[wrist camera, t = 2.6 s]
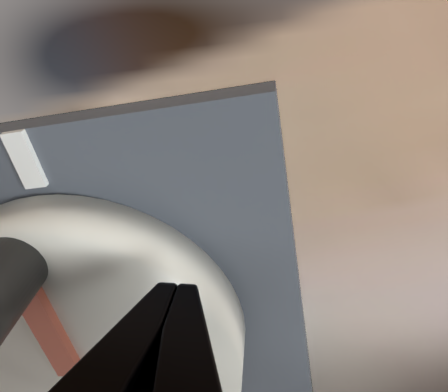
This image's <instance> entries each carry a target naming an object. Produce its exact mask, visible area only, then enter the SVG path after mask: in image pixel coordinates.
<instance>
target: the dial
mask: <svg viewBox="0 0 448 392" xmlns="http://www.w3.org/2000/svg"><path fill="white" fill-rule="evenodd" d="M159 282H167V283H176V284H177V285H179V284H181V283H183V284H195V285H197V287H198V291H199V295H200V299H201V303H202V307H203V312H204V316H205V320H206V324H207V328H208V333H209V337H210V341H211V345H212V349H213V354H214V358H215V362H216V366H217V370H218V375H219V379H220V383H221V387H222V392H241V389H242V374H243V359H244V344H245V322H244V314H243V311H242V308H241V305H240V301H239V299H238V297H237V295H236V293H235V291H234V289H233V287H232V285H231V283H230V282H229V280H228V279H227V277H226V276H225V274H224V273H223V271H222V270H221V269H220V267H219V266H218V265H217V264H216V263H215V262H214V261H213V260H212V259H211V258H210V256H209V255H208V254H207V253H206V252H204V251H203V250H202V249H201V248H200V247H199V246H197V245H196V244H195V243H194V242H193V241H192V240H190V239H189V238H187V237H186V236H185V235H183V234H182V233H180V232H179V231H177V230H176V229H174V228H173V227H171V226H169V225H167V224H166V223H164V222H162V221H160V220H158V219H156V218H154V217H152V216H150V215H148V214H145V213H143V212H141V211H138V210H136V209H133V208H131V207H128V206H125V205H121V204H118V203H114V202H111V201H107V200H103V199H97V198H92V197H86V196H78V195H62V194H55V195H37V196H31V197H26V198H20V199H16V200H13V201H10V202H7V203H4V204H1V205H0V392H48V391H49V390H50V389H51V388H52V387H53V386H54V385H55V384H56V383H57V382H58V381H59V380H60V379H61V378H62V377H63V376H64V375H65V374H66V373H67V372H68V371H69V370H70V369H71V368H72V367H73V366H74V365H75V364H76V363H77V362H78V361H79V360H80V359H81V358H82V357H83V356H84V355H85V354H86V353H87V352H88V351H89V350H90V349H91V348H92V347H93V346H94V345H95V344H96V343H97V342H99V341H100V340H101V339H102V338H103V337H104V336H105V335H106V334H107V333H108V332H109V331H110V330H111V329H112V328H113V327H114V326H115V325H116V324H117V323H118V322H119V321H120V320H121V319H122V318H123V317H124V316H125V315H126V314H127V313H128V312H129V311H130V310H131V309H132V308H133V307H134V306H135V305H136V304H137V303H138V302H139V301H140V300H141V299H142V298H143V297H144V296H145V295H146V294H147V293H148V292H149V291H150V290H151V289H152V288H153V287H154V286H155V285H156V284H157V283H159Z"/></svg>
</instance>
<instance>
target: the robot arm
mask: <svg viewBox="0 0 448 392" xmlns="http://www.w3.org/2000/svg"><path fill="white" fill-rule="evenodd" d="M48 392H222V387H221V383H220V379H219V375H218V370H217V366H216V362H215V358H214V354H213V349H212V345H211V341H210V337H209V333H208V328H207V324H206V320H205V316H204V312H203V307H202V303H201V299H200V295H199V291H198V287H197V285H195V284H183V283H181V284H179V285H177V284H176V283H167V282H159V283H157V284H156V285H155V286H154V287H153V288H152V289H151V290H150V291H149V292H148V293H147V294H146V295H145V296H144V297H143V298H142V299H141V300H140V301H139V302H138V303H137V304H136V305H135V306H134V307H133V308H132V309H131V310H130V311H129V312H128V313H127V314H126V315H125V316H124V317H123V318H122V319H121V320H120V321H119V322H118V323H117V324H116V325H115V326H114V327H113V328H112V329H111V330H110V331H109V332H108V333H107V334H106V335H105V336H104V337H103V338H102V339H101V340H100V341H99V342H97V343H96V344H95V345H94V346H93V347H92V348H91V349H90V350H89V351H88V352H87V353H86V354H85V355H84V356H83V357H82V358H81V359H80V360H79V361H78V362H77V363H76V364H75V365H74V366H73V367H72V368H71V369H70V370H69V371H68V372H67V373H66V374H65V375H64V376H63V377H62V378H61V379H60V380H59V381H58V382H57V383H56V384H55V385H54V386H53V387H52V388H51V389H50V390H49V391H48Z"/></svg>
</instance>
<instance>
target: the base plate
mask: <svg viewBox="0 0 448 392" xmlns="http://www.w3.org/2000/svg"><path fill="white" fill-rule="evenodd" d="M55 194H62V195H78V196H86V197H92V198H97V199H103V200H107V201H111V202H114V203H118V204H121V205H125V206H128V207H131V208H133V209H136V210H138V211H141V212H143V213H145V214H148V215H150V216H152V217H154V218H156V219H158V220H160V221H162V222H164V223H166V224H167V225H169V226H171V227H173V228H174V229H176V230H177V231H179V232H180V233H182V234H183V235H185V236H186V237H187V238H189V239H190V240H192V241H193V242H194V243H195V244H196V245H197V246H199V247H200V248H201V249H202V250H203V251H204V252H206V253H207V254H208V255H209V256H210V258H211V259H212V260H213V261H214V262H215V263H216V264H217V265H218V266H219V267H220V269H221V270H222V271H223V273H224V274H225V276H226V277H227V279H228V280H229V282H230V283H231V285H232V287H233V289H234V291H235V293H236V295H237V297H238V299H239V301H240V305H241V308H242V311H243V314H244V322H245V344H244V359H243V374H242V389H241V392H313V390H312V382H311V374H310V365H309V357H308V349H307V340H306V332H305V324H304V315H303V307H302V299H301V290H300V282H299V274H298V265H297V257H296V249H295V241H294V232H293V224H292V216H291V207H290V199H289V191H288V182H287V174H286V166H285V157H284V149H283V141H282V132H281V124H280V116H279V108H278V99H277V91H276V83H275V81H269V82H263V83H257V84H250V85H244V86H237V87H231V88H224V89H218V90H211V91H205V92H198V93H192V94H185V95H179V96H173V97H166V98H160V99H153V100H147V101H140V102H134V103H127V104H121V105H114V106H108V107H101V108H95V109H89V110H82V111H76V112H69V113H63V114H56V115H50V116H43V117H37V118H30V119H24V120H17V121H11V122H5V123H0V205H1V204H4V203H7V202H10V201H13V200H16V199H20V198H26V197H31V196H37V195H55Z"/></svg>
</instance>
